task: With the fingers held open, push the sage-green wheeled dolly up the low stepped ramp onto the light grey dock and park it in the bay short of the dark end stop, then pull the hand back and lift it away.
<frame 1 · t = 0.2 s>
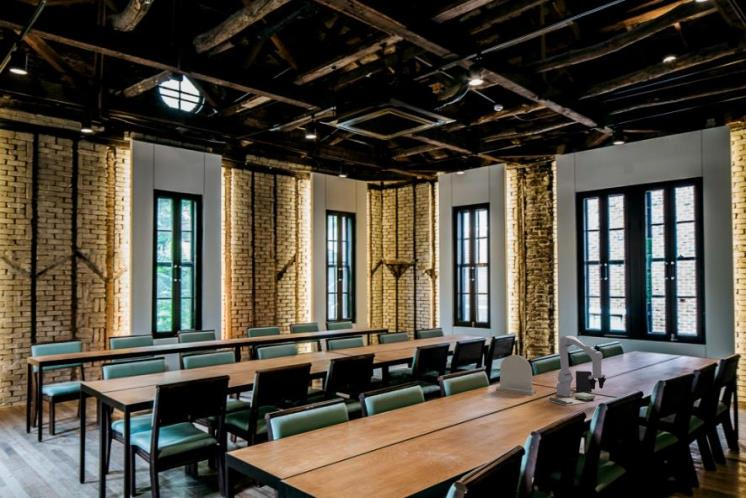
hand: (597, 388, 357), 10 cm above the table, tool pointing down, fingers open, 7 cm apart
dock: (566, 401, 360), on the table
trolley: (584, 399, 368), on the table
calculator: (583, 391, 396), on the table
award: (515, 392, 391), on the table
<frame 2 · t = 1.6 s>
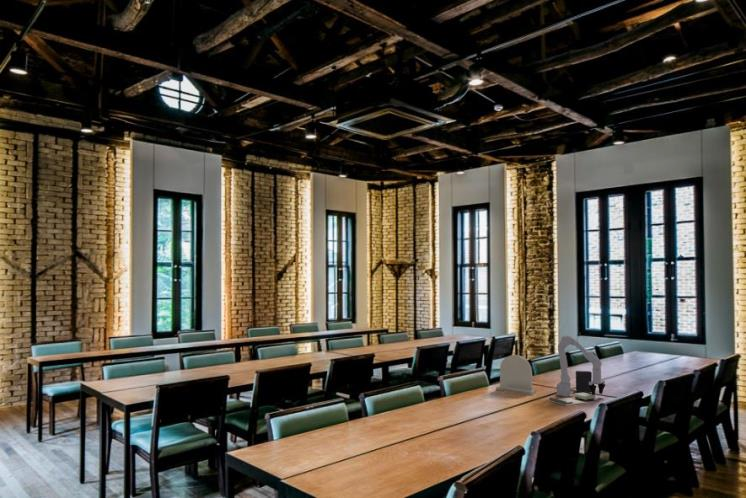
hand: (597, 394, 374), 2 cm above the table, tool pointing down, fingers open, 7 cm apart
nothing on the table moved.
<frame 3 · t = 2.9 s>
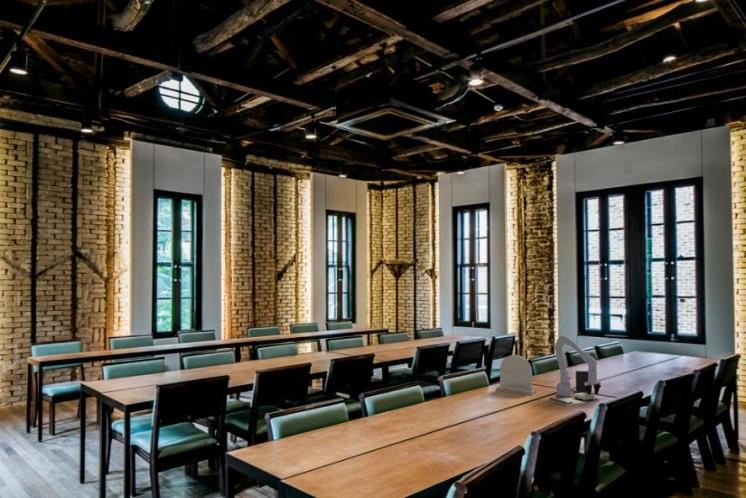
hand: (592, 394, 372), 2 cm above the table, tool pointing down, fingers open, 7 cm apart
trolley: (583, 399, 368), on the table, touching gripper
everything else where it was.
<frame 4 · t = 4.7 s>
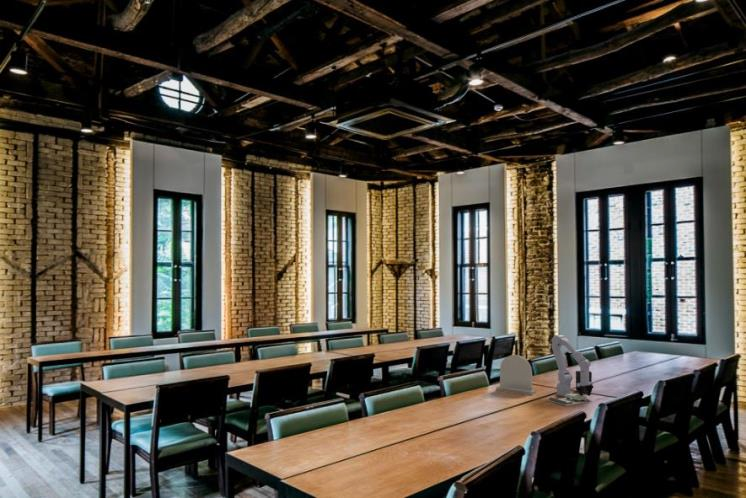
hand: (585, 396, 368), 2 cm above the table, tool pointing down, fingers open, 7 cm apart
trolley: (575, 400, 364), on the table, touching dock, gripper
everything else where it was.
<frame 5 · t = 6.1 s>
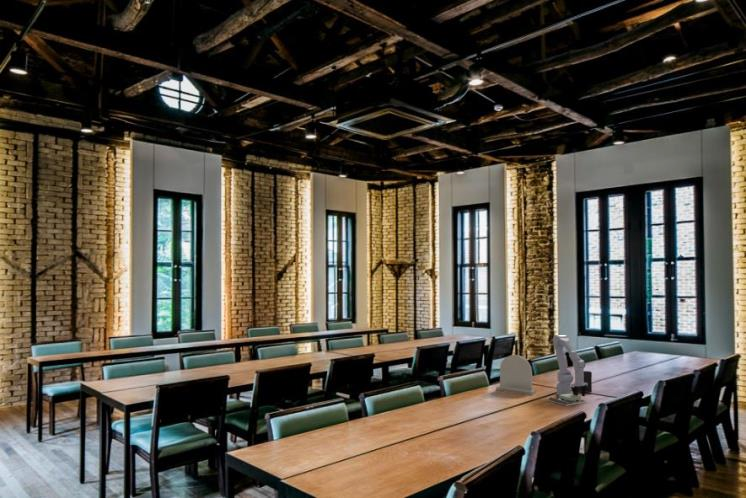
hand: (579, 396, 366), 2 cm above the table, tool pointing down, fingers open, 7 cm apart
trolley: (569, 400, 361), point 1 cm above the table
everything else where it was.
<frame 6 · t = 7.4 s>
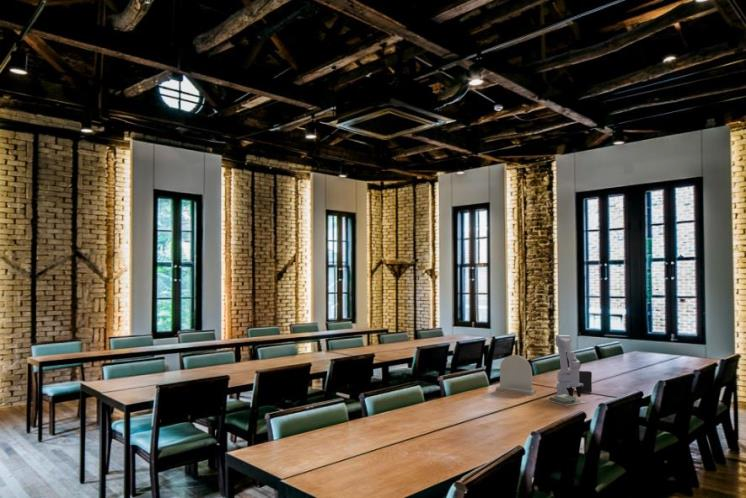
hand: (575, 397, 364), 2 cm above the table, tool pointing down, fingers open, 7 cm apart
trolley: (565, 401, 359), point 1 cm above the table, touching dock, gripper
everything else where it was.
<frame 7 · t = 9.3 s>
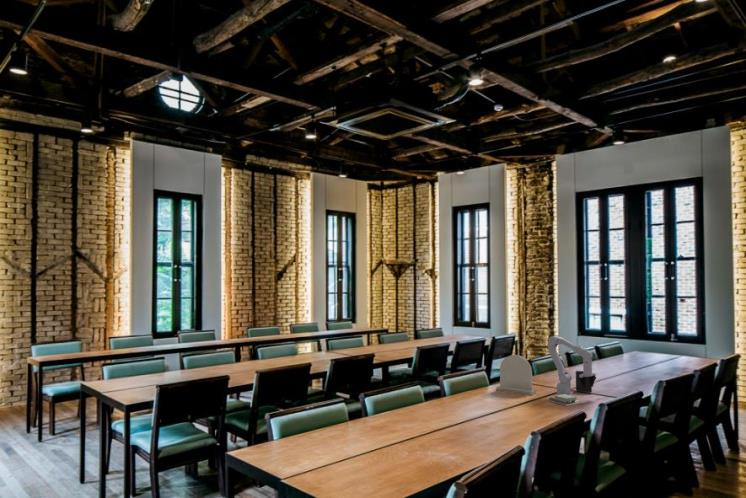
hand: (587, 386, 370), 8 cm above the table, tool pointing down, fingers open, 7 cm apart
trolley: (565, 401, 359), point 1 cm above the table, touching dock
everything else where it was.
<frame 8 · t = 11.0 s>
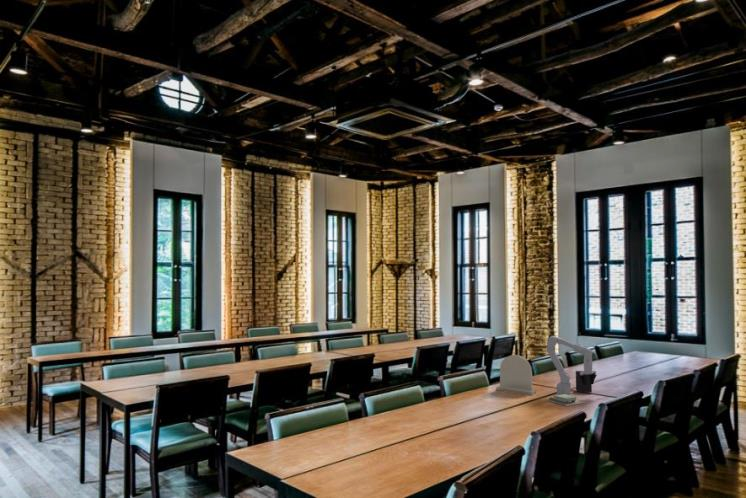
hand: (588, 384, 375), 9 cm above the table, tool pointing down, fingers open, 7 cm apart
nothing on the table moved.
at the end: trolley inside the target area (0.9 cm from its centre), point 0.6 cm above the table; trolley tilted 0°; the gripper is holding nothing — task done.
